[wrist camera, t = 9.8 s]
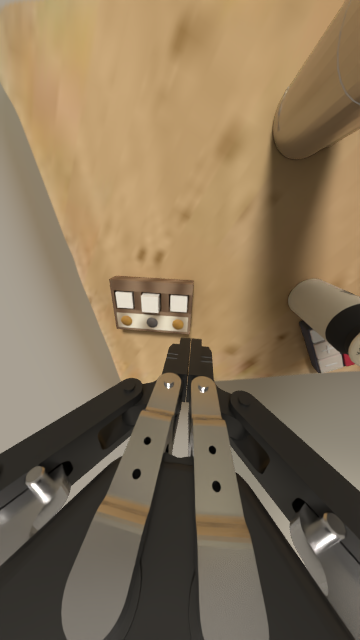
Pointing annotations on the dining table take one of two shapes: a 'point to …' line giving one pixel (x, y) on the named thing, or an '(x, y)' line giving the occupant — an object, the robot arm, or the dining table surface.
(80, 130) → the dining table surface
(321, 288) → the travel mug
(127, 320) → the button board
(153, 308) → the key middle
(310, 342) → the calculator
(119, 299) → the key
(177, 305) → the key
